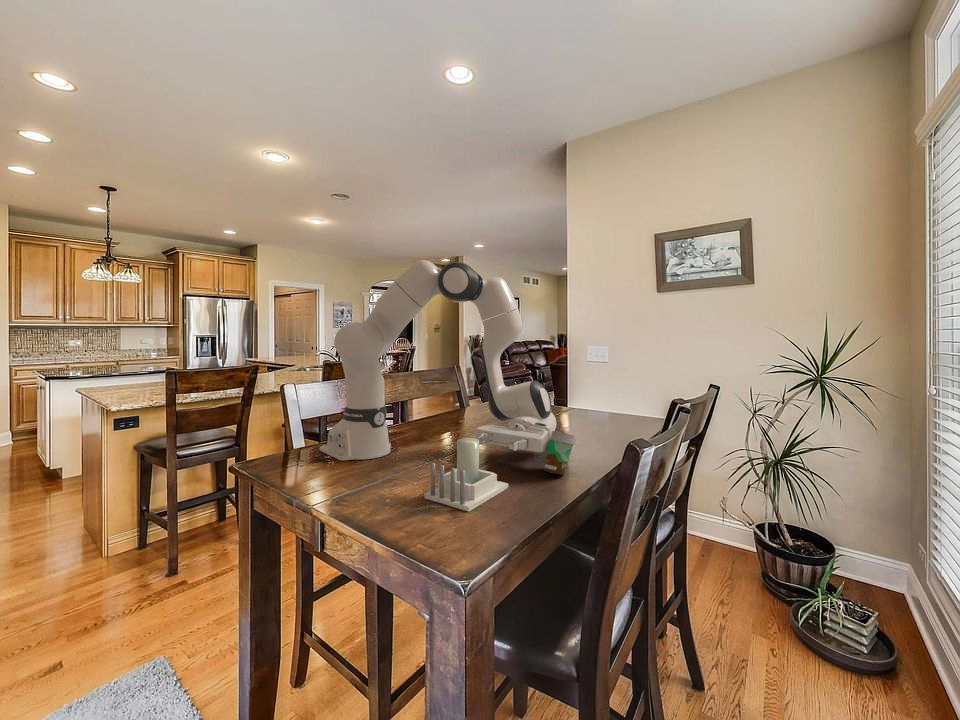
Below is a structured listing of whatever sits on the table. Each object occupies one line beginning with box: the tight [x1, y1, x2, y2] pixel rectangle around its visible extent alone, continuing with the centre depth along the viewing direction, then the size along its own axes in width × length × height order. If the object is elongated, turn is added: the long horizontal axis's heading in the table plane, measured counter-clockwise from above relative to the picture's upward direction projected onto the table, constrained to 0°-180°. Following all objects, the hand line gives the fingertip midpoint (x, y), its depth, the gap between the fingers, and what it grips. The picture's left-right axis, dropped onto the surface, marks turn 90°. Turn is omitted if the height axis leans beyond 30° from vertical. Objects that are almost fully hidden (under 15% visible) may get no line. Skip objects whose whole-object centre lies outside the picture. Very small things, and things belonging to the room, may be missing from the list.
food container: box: [543, 430, 577, 475], centre depth 107 cm, size 12×6×10 cm, turn 166°
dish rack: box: [423, 462, 509, 512], centre depth 94 cm, size 12×16×8 cm
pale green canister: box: [456, 437, 480, 484], centre depth 94 cm, size 5×5×11 cm
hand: (495, 444), depth 104 cm, fingers open, 8 cm apart
